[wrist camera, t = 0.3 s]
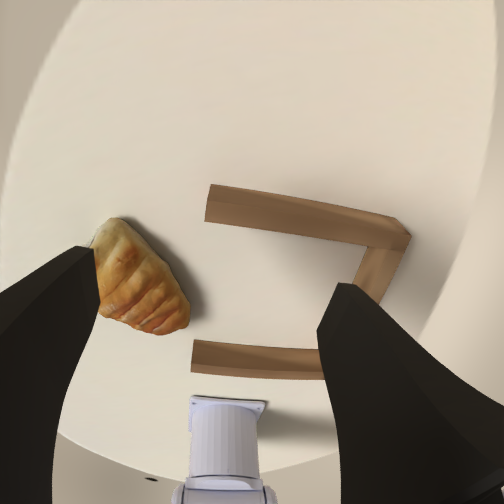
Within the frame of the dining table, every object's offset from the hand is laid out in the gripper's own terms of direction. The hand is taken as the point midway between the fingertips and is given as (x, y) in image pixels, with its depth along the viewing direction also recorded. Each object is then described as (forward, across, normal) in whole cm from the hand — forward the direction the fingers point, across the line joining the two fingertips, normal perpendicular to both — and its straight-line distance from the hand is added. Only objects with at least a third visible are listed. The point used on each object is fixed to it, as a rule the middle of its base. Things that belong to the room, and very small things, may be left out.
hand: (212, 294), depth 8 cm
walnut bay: (+10, -5, +7) cm, 13 cm away
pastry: (+10, +6, +7) cm, 14 cm away
